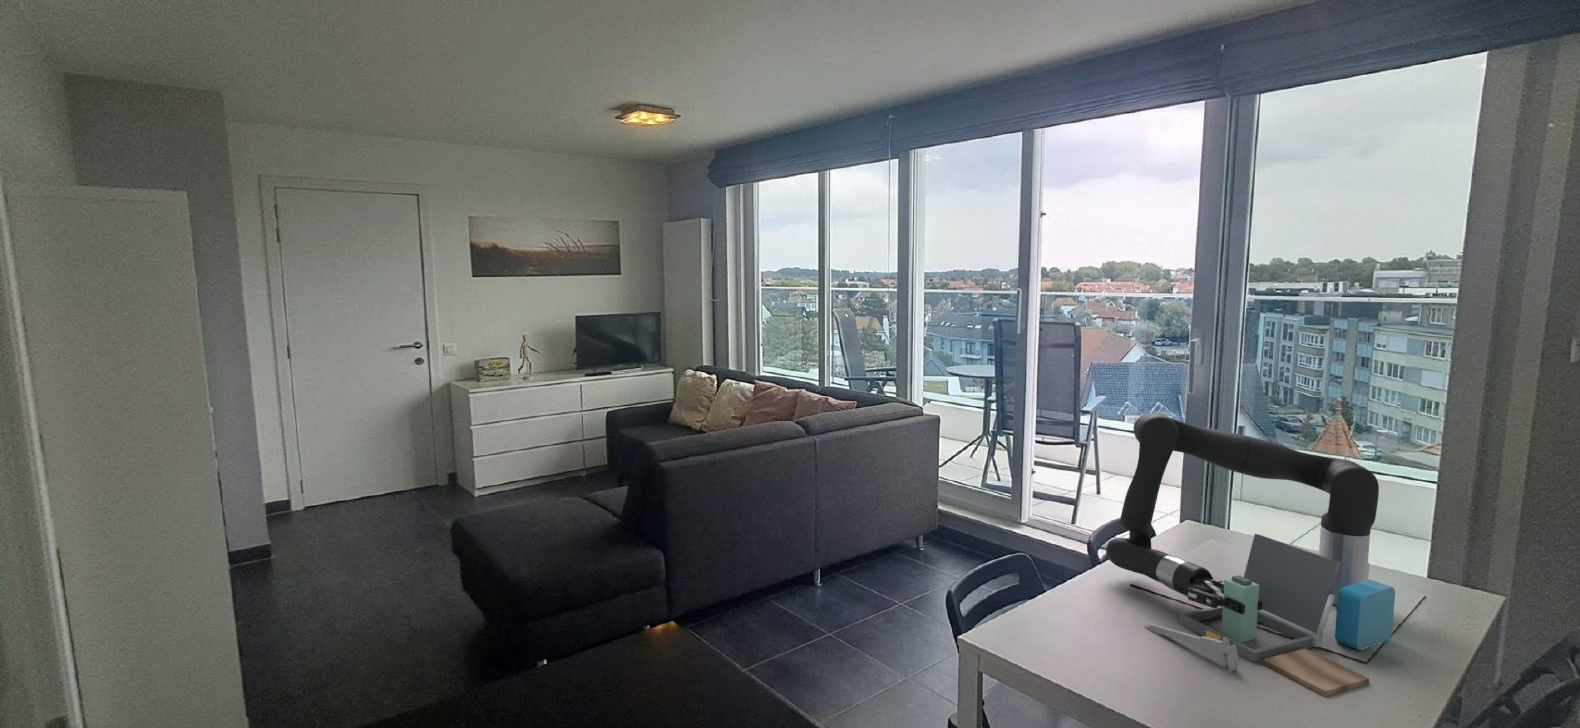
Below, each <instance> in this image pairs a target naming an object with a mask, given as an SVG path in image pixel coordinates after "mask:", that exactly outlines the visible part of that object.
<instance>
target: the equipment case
mask: <svg viewBox="0 0 1580 728" xmlns="http://www.w3.org/2000/svg"><path fill="white" fill-rule="evenodd" d="M1252 539H1253V540H1252V542H1251V548H1250V551H1249V555H1248V559H1247V563H1246V566H1245V570H1244V574H1243V577H1244V578H1247V579H1249V580H1252V582H1254V583H1256V584H1259V598H1258V599H1260V600H1262V602H1263V606H1262V610H1258V614H1257V623H1261V624H1263V625H1265V626H1267V627H1269V628H1271V629H1274V630H1276V631H1278V632H1279V633H1282V634H1284V633H1285V634H1284V635H1286V634H1287V636H1288V635H1289V637H1290V638H1293V637H1294V638H1293V639H1291V640H1287V641H1283V642H1279V643H1278V642H1277V643H1275V644H1271V645H1267V646H1264V647H1259V648H1255V649H1253V648H1251V647H1249V646H1247V645H1246V644H1243V643H1242V642H1241V643H1240V642H1238V641H1236V640H1234V639H1232V638H1230V637H1228V636H1226V635H1224V634H1222V633H1221V632H1219V631H1217V630H1215V629H1213V628H1212V627H1209V626H1208V625H1206V624H1203V623H1202V622H1201V621H1205V620H1209V619H1213V618H1217V617H1218V618H1219V617H1222V611H1223V608H1221V607H1220V606H1217V608H1212V607H1206V608H1201V609H1196V610H1194V611H1192V610H1191V611H1187V612H1184V613H1183V612H1182V613H1178V617H1177V618H1178V619H1177V620H1178V621H1177V623H1178V624H1180V625H1181V626H1183V627H1185V628H1187V629H1189V630H1191V631H1192V632H1195V633H1196V632H1197V634H1199V635H1200V636H1201V637H1203V636H1205V637H1209V638H1213V639H1216V640H1220V641H1223V639H1222V638H1224V637H1226V638H1227V639H1228V640H1229V639H1232V642H1233V645H1236V648H1237V653H1238V656H1241V657H1242V658H1245V659H1247V660H1249V661H1251V662H1252V663H1258V662H1261V661H1262V662H1263V659H1266V658H1270V657H1274V656H1277V655H1281V654H1285V653H1289V652H1293V651H1297V650H1301V649H1304V648H1306V649H1308V650H1309V649H1311V648H1320V647H1322V646H1323V636H1324V632H1325V629H1326V626H1327V622H1328V618H1329V615H1330V612H1331V610H1332V606H1333V600H1334V595H1333V593H1334V589H1335V585H1336V582H1337V578H1338V574H1339V570H1340V566H1341V562H1338V561H1335V560H1332V559H1329V558H1326V557H1324V556H1321V555H1319V553H1318V554H1317V553H1314V552H1312V551H1308V550H1305V549H1303V548H1300V547H1296V546H1294V545H1290V544H1288V543H1286V542H1282V541H1279V540H1276V539H1273V538H1271V537H1268V536H1264V535H1262V534H1259V533H1254V535H1253V538H1252Z"/></svg>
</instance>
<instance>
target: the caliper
mask: <svg viewBox="0 0 1580 728" xmlns="http://www.w3.org/2000/svg"><path fill="white" fill-rule="evenodd" d="M1143 627H1144V628H1145V629H1149V631H1151V632H1153V633H1155V634H1158V635H1162V636H1165V637H1169V638H1172V639H1176V640H1178V641H1183V642H1186V643H1189V644H1193V645H1194V646H1195V645H1196V646H1200V647H1201V650H1202V651H1203V652H1205V651H1206V652H1208V653H1217V656H1218V658H1219V661H1220V663H1221V665H1222V666H1221V667H1223V668H1227V667H1229V665H1230V668H1231V672H1232V671H1237V670H1238V667H1239V663H1238V662H1239V654H1238V653H1237V648H1236V645H1233V642H1232V638H1231V639H1229V640H1228V639H1227V638H1226V637H1224V638H1222V639H1223V641H1220V640H1216V639H1213V638H1209V637H1205V636H1197V635H1194V634H1190V633H1187V632H1184V631H1180V630H1176V629H1174V628H1169V627H1165V626H1163V625H1160V624H1159V625H1158V624H1155V623H1150V624H1147V625H1145V626H1143ZM1228 658H1229V660H1228ZM1229 663H1230V664H1229Z"/></svg>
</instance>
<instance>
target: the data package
mask: <svg viewBox="0 0 1580 728" xmlns="http://www.w3.org/2000/svg"><path fill="white" fill-rule="evenodd" d="M1395 601H1396V589H1395V588H1394V587H1393V586H1390V585H1388V584H1384V583H1382V582H1379V581H1376V580H1372V579H1368V580H1365V581H1362V582H1359V583H1355V584H1352V585H1349V586H1345V587H1342V588H1341V589H1340V591H1339V593H1338V601H1337V605H1336V617H1335V630H1334V639H1335V640H1336V642H1338V643H1340V642H1341V644H1343V645H1345V646H1347V647H1350V648H1352V647H1353V648H1352V649H1355V648H1356V650H1357V649H1358V651H1360V650H1362V649H1364V648H1366V647H1370V648H1372V647H1371V646H1373V645H1375V644H1378V643H1381V642H1384V643H1386V641H1387V642H1389V640H1390V639H1391V637H1392V634H1393V623H1394V612H1395ZM1381 644H1382V643H1381ZM1378 645H1379V644H1378ZM1373 647H1374V646H1373ZM1362 651H1363V650H1362Z"/></svg>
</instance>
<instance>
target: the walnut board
mask: <svg viewBox="0 0 1580 728" xmlns="http://www.w3.org/2000/svg"><path fill="white" fill-rule="evenodd" d="M1262 665H1264V666H1266V667H1267V668H1269V669H1271V670H1273V671H1275V672H1276V673H1279V674H1281V675H1283V676H1285V677H1287V678H1289V679H1290V680H1293V681H1294V682H1296V683H1297V684H1300V685H1302V686H1304V687H1306V688H1307V689H1311V690H1312V691H1314V692H1315V693H1317V694H1319V695H1321V696H1324V697H1327V696H1331V695H1334V694H1339V693H1341V692H1345V691H1348V690H1351V689H1355V688H1359V687H1361V685H1362V686H1364V685H1368V684H1370V678H1369V677H1367V676H1365V675H1363V674H1361V673H1359V672H1356V671H1355V670H1352V669H1351V668H1348V667H1346V666H1344V665H1342V664H1339V663H1338V662H1335V661H1333V660H1331V659H1329V658H1327V657H1325V656H1322V655H1320V654H1318V653H1316V652H1314V651H1312V650H1309V648H1308V649H1306V648H1304V649H1301V650H1297V651H1293V652H1289V653H1285V654H1281V655H1277V656H1274V657H1270V658H1266V659H1263V660H1262ZM1367 683H1368V684H1367Z"/></svg>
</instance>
